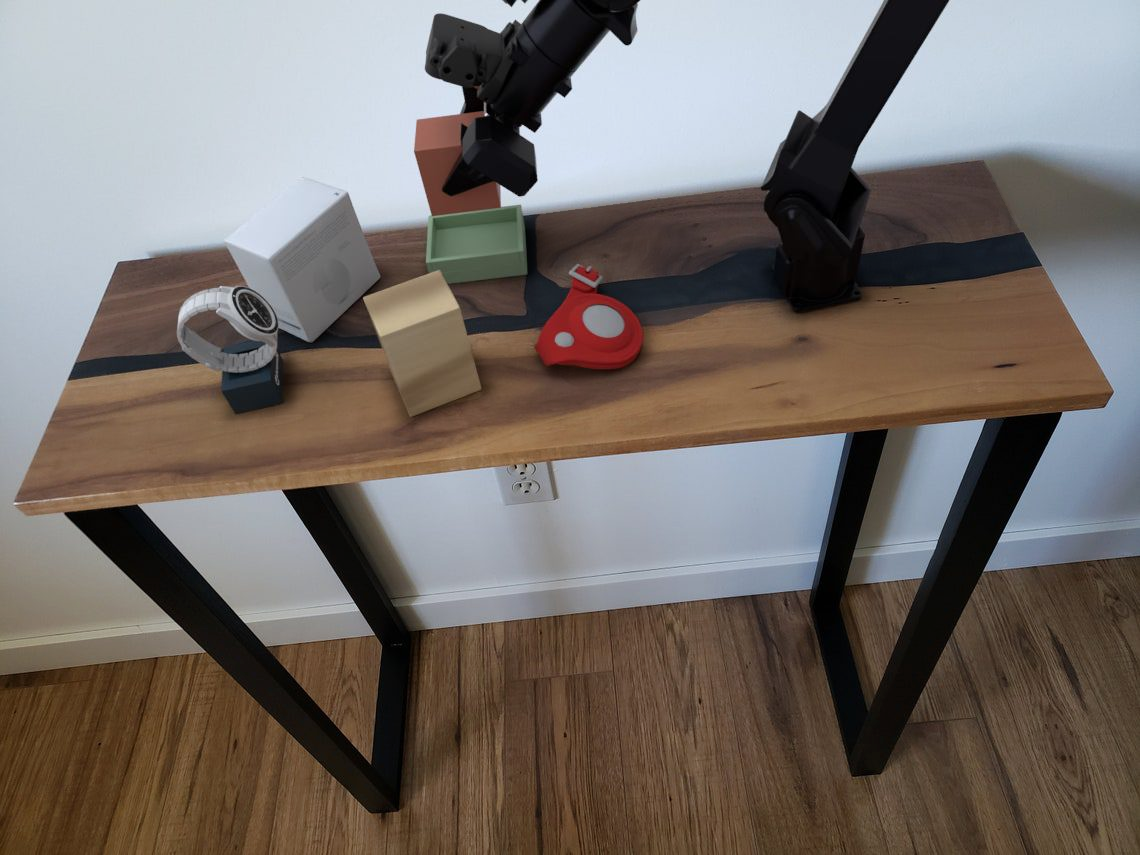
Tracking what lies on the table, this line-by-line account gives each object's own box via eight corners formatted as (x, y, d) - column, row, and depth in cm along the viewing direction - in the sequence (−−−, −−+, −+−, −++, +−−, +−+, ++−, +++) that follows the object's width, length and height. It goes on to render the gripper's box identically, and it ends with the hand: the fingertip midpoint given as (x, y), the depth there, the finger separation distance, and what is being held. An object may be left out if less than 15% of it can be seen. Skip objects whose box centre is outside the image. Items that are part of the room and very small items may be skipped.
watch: (304, 398, 78) (259, 309, 69) (215, 418, 77) (158, 331, 69) (303, 354, 81) (260, 264, 73) (218, 373, 81) (164, 285, 72)
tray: (525, 228, 90) (521, 204, 88) (527, 274, 85) (523, 250, 83) (434, 238, 90) (428, 215, 88) (432, 285, 86) (425, 262, 83)
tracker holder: (668, 339, 76) (575, 372, 72) (652, 370, 80) (563, 403, 75) (596, 245, 81) (504, 270, 76) (584, 277, 85) (495, 303, 80)
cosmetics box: (335, 259, 90) (301, 173, 82) (382, 278, 87) (351, 191, 79) (263, 322, 85) (219, 238, 76) (311, 345, 82) (270, 259, 74)
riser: (482, 389, 76) (460, 307, 69) (410, 417, 75) (379, 336, 67) (462, 352, 80) (439, 269, 72) (393, 378, 78) (362, 296, 71)
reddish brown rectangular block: (500, 207, 80) (487, 141, 75) (431, 216, 81) (413, 151, 75) (500, 176, 83) (487, 110, 78) (433, 184, 84) (416, 119, 78)
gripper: (470, -67, 73) (376, 73, 82) (468, 43, 61) (359, 192, 70) (572, 13, 79) (474, 136, 88) (588, 128, 67) (474, 256, 76)
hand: (446, 175), depth 80 cm, fingers closed on reddish brown rectangular block, 5 cm apart
